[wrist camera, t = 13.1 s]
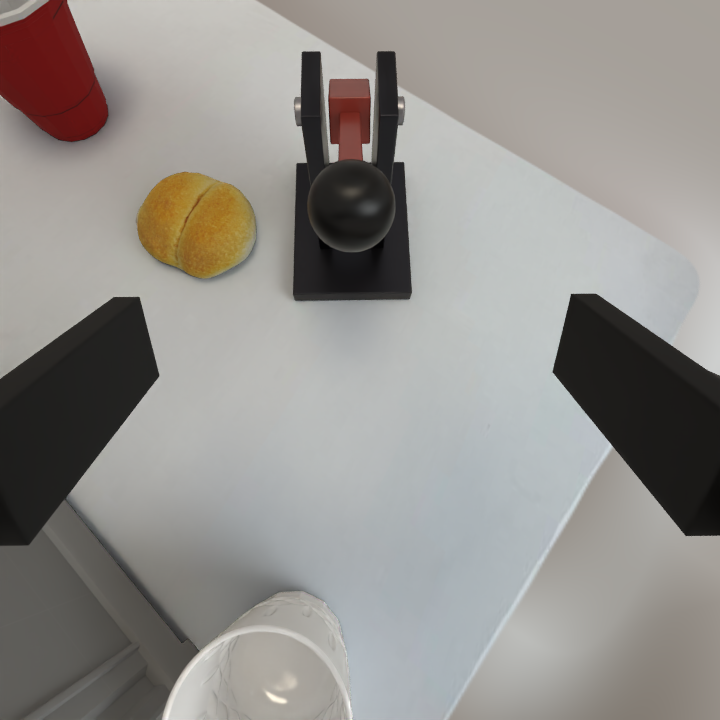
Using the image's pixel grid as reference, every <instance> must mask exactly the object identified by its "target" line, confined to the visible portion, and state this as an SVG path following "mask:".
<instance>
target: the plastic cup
mask: <svg viewBox="0 0 720 720" xmlns="http://www.w3.org/2000/svg"><path fill="white" fill-rule="evenodd" d="M0 95H1V96H2V97H3V98H5V99H6V100H7V101H8V102H9V103H10V104H11V105H13V106H14V107H15V108H17V109H19V110H20V111H21V112H23V113H24V114H25V115H26V116H27V117H28V118H29V119H31V120H32V121H33V122H34V123H35V124H36V125H37V126H39V127H40V128H41V129H42V130H44V131H45V132H47V133H49V134H50V135H51V136H53V137H55V138H57V139H58V140H63V141H70V142H72V141H78V140H84V139H86V138H88V137H90V136H92V135H94V134H96V133H97V132H98V131H99V130H100V129H101V128H102V127H103V126H104V124H105V122H106V119H107V117H108V107H107V104H106V99H105V96H104V94H103V92H102V89H101V87H100V85H99V83H98V80H97V78H96V76H95V73H94V68H93V66H92V63H91V61H90V58H89V56H88V53H87V51H86V48H85V46H84V43H83V41H82V39H81V36H80V34H79V31H78V29H77V26H76V24H75V21H74V19H73V16H72V14H71V11H70V9H69V7H68V4H67V0H0Z"/></svg>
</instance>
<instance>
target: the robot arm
mask: <svg viewBox="0 0 720 720" xmlns="http://www.w3.org/2000/svg"><path fill="white" fill-rule="evenodd" d="M553 373H554V374H555V376H556V377H557V378H558V379H559V381H560V382H561V383H562V384H563V386H564V387H565V388H566V389H567V390H568V392H569V393H570V394H571V395H572V397H573V398H574V399H575V400H576V402H577V403H578V404H579V405H580V406H581V408H582V409H583V410H584V411H585V413H586V414H587V415H588V416H589V418H590V419H591V420H592V421H593V422H594V424H595V425H596V426H597V427H598V429H599V430H600V431H601V432H602V434H603V435H604V436H605V437H606V438H607V440H608V441H609V442H610V443H611V445H612V446H613V447H614V448H615V449H616V451H617V452H618V453H619V454H620V455H621V457H622V458H623V459H624V461H625V462H626V463H627V464H628V465H629V467H630V468H631V469H632V470H633V472H634V473H635V474H636V475H637V476H638V478H639V479H640V480H641V481H642V483H643V484H644V485H645V486H646V488H647V489H648V490H649V491H650V493H651V494H652V495H653V496H654V497H655V499H656V500H657V501H658V502H659V504H660V505H661V506H662V507H663V508H664V510H665V511H666V512H667V513H668V515H669V516H670V517H671V518H672V520H673V521H674V522H675V523H676V524H677V526H678V527H679V528H680V529H681V531H682V532H683V533H684V534H685V535H686V536H711V535H712V536H717V535H720V376H719V375H717V374H715V373H712V372H710V371H708V370H706V369H705V368H703V367H702V366H700V365H699V364H697V363H696V362H694V361H693V360H692V359H690V358H689V357H687V356H686V355H684V354H683V353H681V352H680V351H679V350H677V349H676V348H674V347H673V346H671V345H670V344H668V343H667V342H665V341H664V340H663V339H661V338H660V337H658V336H657V335H655V334H654V333H652V332H651V331H649V330H648V329H647V328H645V327H644V326H642V325H641V324H639V323H638V322H636V321H635V320H634V319H632V318H631V317H629V316H628V315H626V314H625V313H623V312H622V311H620V310H619V309H618V308H616V307H615V306H613V305H612V304H610V303H609V302H607V301H606V300H604V299H603V298H602V297H600V296H599V295H597V294H571V297H570V301H569V306H568V310H567V314H566V318H565V322H564V326H563V331H562V335H561V339H560V343H559V347H558V352H557V356H556V360H555V364H554V368H553ZM158 377H159V372H158V368H157V364H156V360H155V356H154V352H153V348H152V345H151V341H150V337H149V333H148V329H147V325H146V321H145V317H144V313H143V309H142V305H141V301H140V297H113V298H112V299H111V300H109V301H108V302H107V303H105V304H104V305H102V306H101V307H100V308H98V309H97V310H95V311H94V312H93V313H91V314H90V315H88V316H87V317H86V318H84V319H83V320H82V321H80V322H79V323H77V324H76V325H75V326H73V327H72V328H70V329H69V330H68V331H66V332H65V333H63V334H62V335H61V336H59V337H58V338H57V339H55V340H54V341H52V342H51V343H50V344H48V345H47V346H45V347H44V348H43V349H41V350H40V351H38V352H37V353H36V354H34V355H33V356H31V357H30V358H29V359H27V360H26V361H25V362H23V363H22V364H20V365H19V366H18V367H16V368H15V369H13V370H12V371H11V372H9V373H8V374H6V375H5V376H4V377H2V378H1V379H0V546H29V545H30V543H31V542H32V541H33V539H34V538H35V537H36V536H37V534H38V533H39V532H40V530H41V529H42V528H43V526H44V525H45V524H46V523H47V521H48V520H49V519H50V517H51V516H52V515H53V513H54V512H55V511H56V510H57V508H58V507H59V506H60V504H61V503H62V502H63V500H64V499H65V498H66V497H67V495H68V494H69V493H70V491H71V490H72V489H73V487H74V486H75V485H76V484H77V482H78V481H79V480H80V478H81V477H82V476H83V475H84V473H85V472H86V471H87V469H88V468H89V467H90V465H91V464H92V463H93V462H94V460H95V459H96V458H97V456H98V455H99V454H100V452H101V451H102V450H103V449H104V447H105V446H106V445H107V443H108V442H109V441H110V439H111V438H112V437H113V436H114V434H115V433H116V432H117V430H118V429H119V428H120V426H121V425H122V424H123V423H124V421H125V420H126V419H127V417H128V416H129V415H130V413H131V412H132V411H133V410H134V408H135V407H136V406H137V404H138V403H139V402H140V401H141V399H142V398H143V397H144V395H145V394H146V393H147V391H148V390H149V389H150V388H151V386H152V385H153V384H154V382H155V381H156V380H157V378H158Z"/></svg>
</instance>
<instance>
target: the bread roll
mask: <svg viewBox="0 0 720 720" xmlns="http://www.w3.org/2000/svg"><path fill="white" fill-rule="evenodd" d="M136 223H137V229H138V235H139V240H140V241H141V243H142V245H143V247H144V248H145V249H146V250H147V251H148V252H149V253H150V254H151V255H152V256H153V257H154V258H156V259H157V260H159V261H161V262H163V263H166V264H169V265H172V266H175V267H177V268H180V269H182V270H183V271H185V272H186V273H188V274H189V275H192V276H194V277H198V278H204V279H206V278H211V277H214V276H217V275H219V274H221V273H223V272H225V271H227V270H229V269H231V268H232V267H234V266H236V265H238V264H239V263H241V262H242V261H244V260H245V259H246V258H247V257H248V255H249V254H250V252H251V250H252V248H253V246H254V243H255V240H256V220H255V215H254V212H253V209H252V207H251V205H250V203H249V201H248V200H247V199H246V197H245V196H244V195H243V194H242V192H241V191H240V190H239V189H237V188H236V187H234V186H233V185H231V184H227V183H224V182H220V181H218V180H215V179H213V178H210V177H208V176H205V175H202V174H199V173H189V172H182V173H177V174H174V175H171V176H169V177H167V178H165V179H163V180H161V181H160V182H159V183H158V184H157V185H156V186H155V187H154V188H153V189H152V190H151V192H150V193H149V195H148V196H147V198H146V199H145V201H144V203H143V204H142V206H141V207H140V209H139V211H138V214H137V218H136Z"/></svg>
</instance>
